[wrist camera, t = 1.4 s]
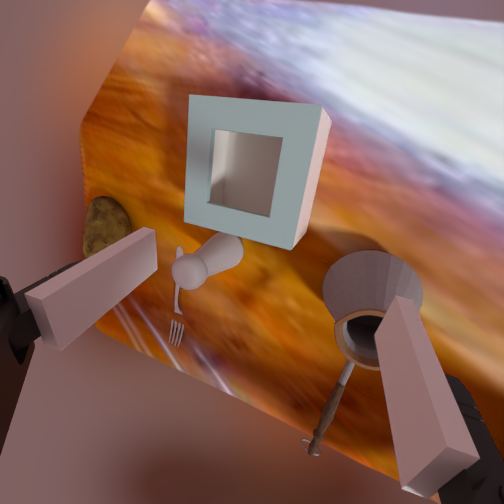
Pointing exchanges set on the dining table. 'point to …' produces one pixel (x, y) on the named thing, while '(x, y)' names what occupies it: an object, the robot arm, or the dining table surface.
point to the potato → (104, 225)
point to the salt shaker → (207, 260)
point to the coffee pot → (361, 314)
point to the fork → (177, 310)
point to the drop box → (253, 166)
